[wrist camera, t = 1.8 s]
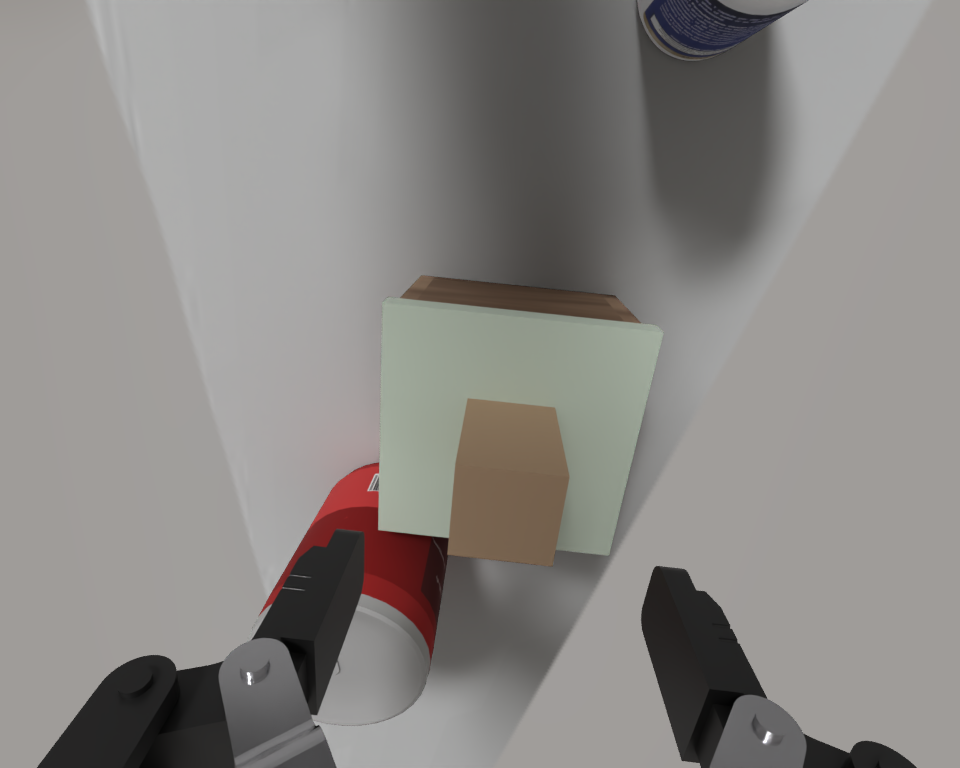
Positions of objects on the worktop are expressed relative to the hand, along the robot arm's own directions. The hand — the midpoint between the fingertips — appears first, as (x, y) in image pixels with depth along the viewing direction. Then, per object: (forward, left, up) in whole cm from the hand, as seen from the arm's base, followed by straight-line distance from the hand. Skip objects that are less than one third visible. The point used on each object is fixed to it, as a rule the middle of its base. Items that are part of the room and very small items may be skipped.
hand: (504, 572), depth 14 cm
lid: (0, 0, -8) cm, 8 cm away
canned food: (+10, -6, -15) cm, 19 cm away
